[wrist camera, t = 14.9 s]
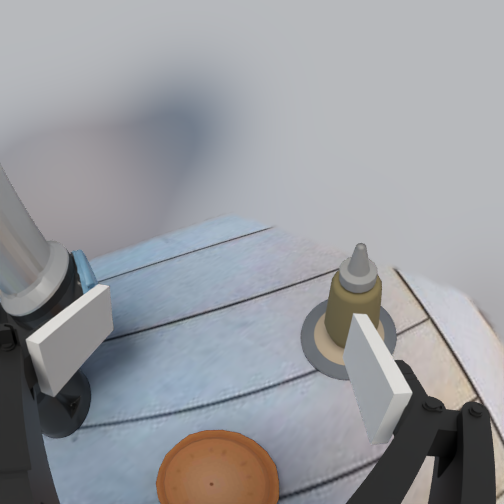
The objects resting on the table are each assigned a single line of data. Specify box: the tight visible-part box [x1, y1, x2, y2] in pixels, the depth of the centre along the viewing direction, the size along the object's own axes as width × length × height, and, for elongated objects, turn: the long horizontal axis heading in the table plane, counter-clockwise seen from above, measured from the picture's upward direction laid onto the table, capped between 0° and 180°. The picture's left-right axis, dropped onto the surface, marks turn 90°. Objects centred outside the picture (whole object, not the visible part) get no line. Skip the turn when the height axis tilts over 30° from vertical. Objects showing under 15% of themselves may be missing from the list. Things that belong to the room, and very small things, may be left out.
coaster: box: [301, 300, 397, 380], centre depth 45 cm, size 15×15×1 cm
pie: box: [156, 430, 279, 504], centre depth 30 cm, size 16×16×5 cm
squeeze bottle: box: [324, 243, 382, 349], centre depth 39 cm, size 8×8×18 cm
